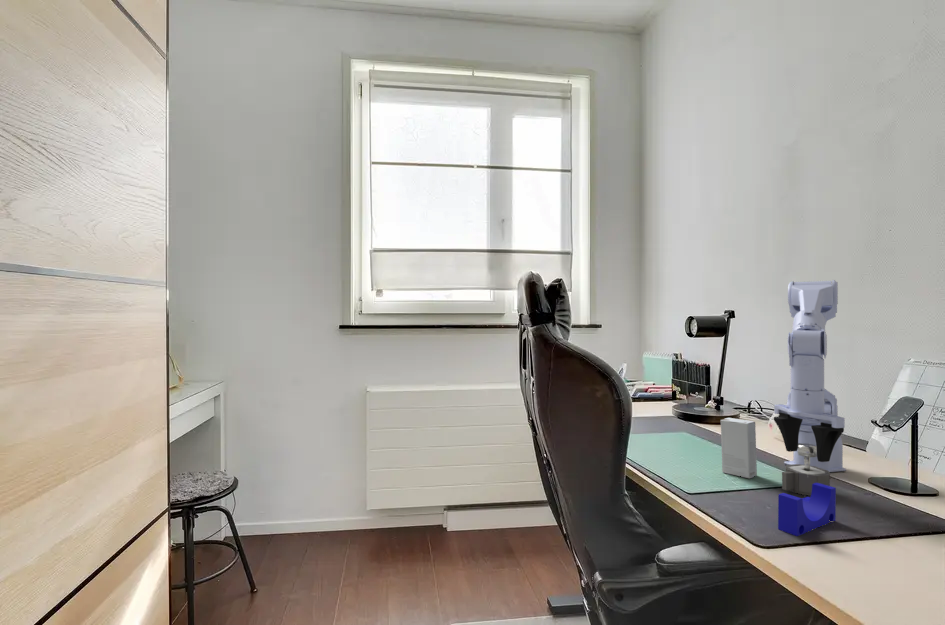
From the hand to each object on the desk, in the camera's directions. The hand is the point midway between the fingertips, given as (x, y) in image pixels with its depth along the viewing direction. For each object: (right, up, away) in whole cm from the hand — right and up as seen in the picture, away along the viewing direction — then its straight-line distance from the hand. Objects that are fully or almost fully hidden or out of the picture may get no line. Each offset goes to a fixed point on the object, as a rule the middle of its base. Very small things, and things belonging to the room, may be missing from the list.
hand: (807, 455), depth 102 cm
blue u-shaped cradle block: (-11, -7, -16) cm, 21 cm away
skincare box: (-8, -7, +10) cm, 15 cm away
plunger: (0, -4, 0) cm, 4 cm away
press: (0, -7, 0) cm, 7 cm away
